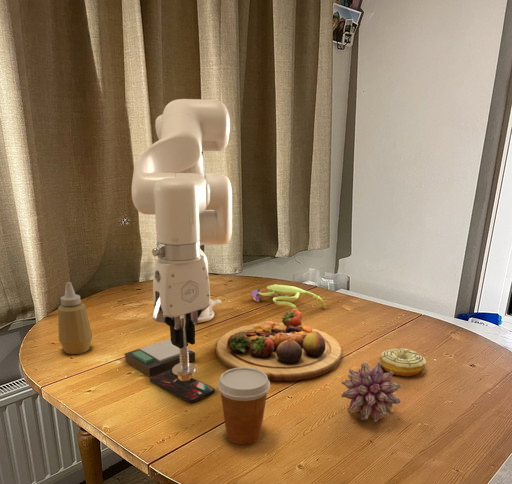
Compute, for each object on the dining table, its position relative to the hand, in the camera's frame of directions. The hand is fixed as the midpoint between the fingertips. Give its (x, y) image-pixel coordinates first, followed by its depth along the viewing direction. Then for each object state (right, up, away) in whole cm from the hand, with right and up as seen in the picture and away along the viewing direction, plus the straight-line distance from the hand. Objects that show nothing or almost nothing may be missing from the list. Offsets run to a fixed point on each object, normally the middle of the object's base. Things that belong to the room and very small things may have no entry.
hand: (183, 343), depth 96 cm
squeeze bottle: (-32, -3, +32) cm, 45 cm away
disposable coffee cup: (+12, -17, -2) cm, 21 cm away
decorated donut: (+49, -7, +24) cm, 55 cm away
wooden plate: (+20, -4, +32) cm, 37 cm away
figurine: (+24, +10, +68) cm, 73 cm away
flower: (+37, -15, +4) cm, 40 cm away
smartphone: (-3, -10, +15) cm, 18 cm away
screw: (0, -7, +3) cm, 8 cm away
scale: (-9, -5, +26) cm, 28 cm away
